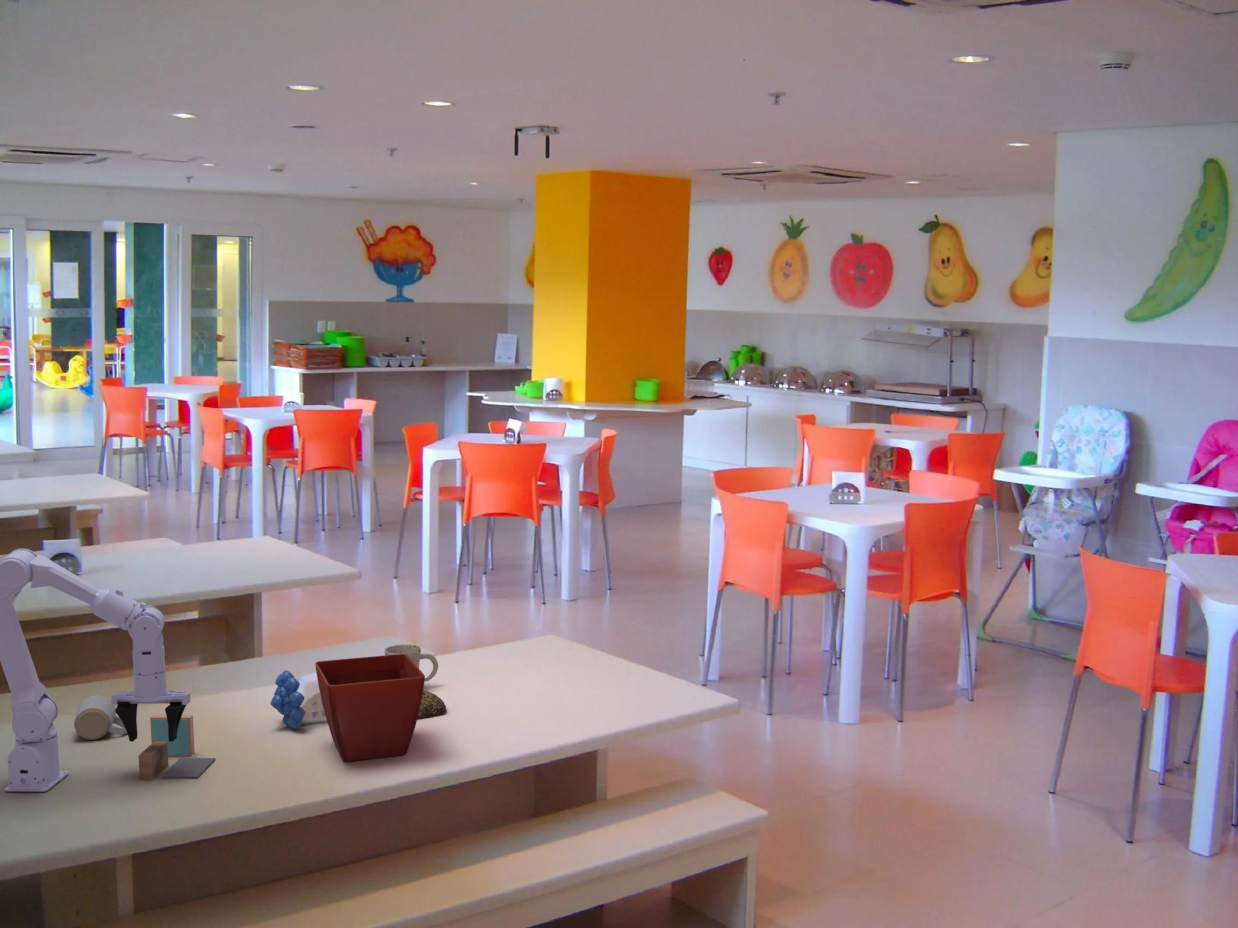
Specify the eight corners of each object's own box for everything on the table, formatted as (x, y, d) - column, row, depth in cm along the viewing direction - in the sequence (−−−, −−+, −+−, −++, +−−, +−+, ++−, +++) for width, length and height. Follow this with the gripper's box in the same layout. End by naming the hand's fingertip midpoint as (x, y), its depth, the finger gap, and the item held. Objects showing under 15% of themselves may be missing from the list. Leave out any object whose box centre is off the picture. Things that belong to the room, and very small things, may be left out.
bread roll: (450, 717, 278) (450, 695, 277) (394, 723, 273) (394, 701, 272) (436, 700, 289) (436, 679, 289) (383, 706, 285) (382, 685, 284)
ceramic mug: (73, 743, 260) (72, 707, 259) (78, 730, 268) (76, 695, 267) (128, 739, 263) (127, 703, 262) (131, 726, 271) (130, 692, 270)
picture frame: (191, 756, 252) (189, 717, 251) (151, 756, 252) (149, 717, 251) (194, 753, 254) (192, 715, 253) (155, 753, 254) (153, 714, 253)
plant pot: (408, 728, 269) (406, 651, 267) (427, 758, 251) (426, 675, 249) (316, 739, 262) (314, 660, 260) (330, 770, 244) (327, 686, 242)
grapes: (260, 723, 272) (258, 669, 271) (290, 717, 276) (288, 664, 275) (281, 737, 263) (280, 681, 262) (312, 731, 267) (310, 676, 266)
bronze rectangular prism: (152, 780, 239) (151, 755, 239) (139, 780, 239) (138, 755, 239) (168, 765, 247) (167, 741, 247) (155, 765, 247) (154, 741, 247)
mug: (381, 687, 298) (380, 646, 297) (433, 681, 304) (432, 640, 302) (390, 697, 291) (389, 655, 290) (443, 690, 296) (442, 648, 295)
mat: (197, 778, 240) (197, 776, 240) (161, 778, 240) (161, 776, 240) (215, 759, 250) (215, 757, 250) (180, 759, 250) (180, 757, 250)
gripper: (194, 665, 245) (197, 732, 246) (120, 665, 245) (124, 732, 247) (181, 675, 238) (184, 745, 239) (105, 675, 238) (109, 745, 240)
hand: (153, 739), depth 242 cm, fingers open, 7 cm apart
